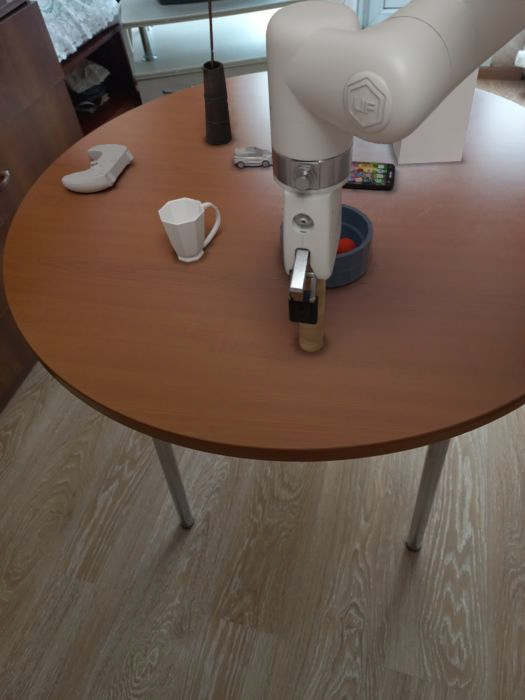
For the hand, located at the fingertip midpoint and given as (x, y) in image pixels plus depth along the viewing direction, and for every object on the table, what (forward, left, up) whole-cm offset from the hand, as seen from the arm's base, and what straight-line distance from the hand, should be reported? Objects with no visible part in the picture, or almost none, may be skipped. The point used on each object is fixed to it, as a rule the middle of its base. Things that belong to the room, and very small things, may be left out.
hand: (310, 292), depth 62 cm
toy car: (-6, -47, -9) cm, 48 cm away
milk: (-38, -40, -9) cm, 56 cm away
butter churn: (-1, -58, -9) cm, 59 cm away
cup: (+10, -25, -9) cm, 29 cm away
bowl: (-8, -15, -9) cm, 19 cm away
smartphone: (-21, -35, -9) cm, 42 cm away
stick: (0, 0, -9) cm, 9 cm away
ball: (-11, -14, -7) cm, 19 cm away
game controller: (+23, -54, -9) cm, 59 cm away
